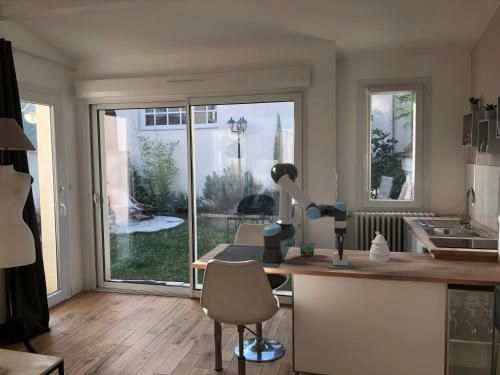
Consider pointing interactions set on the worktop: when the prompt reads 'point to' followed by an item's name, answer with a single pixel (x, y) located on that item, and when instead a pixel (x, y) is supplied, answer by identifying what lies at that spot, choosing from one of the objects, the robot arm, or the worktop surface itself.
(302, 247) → the food container
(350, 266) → the rubber mat
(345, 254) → the card box
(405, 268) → the worktop surface
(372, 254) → the honey pot
